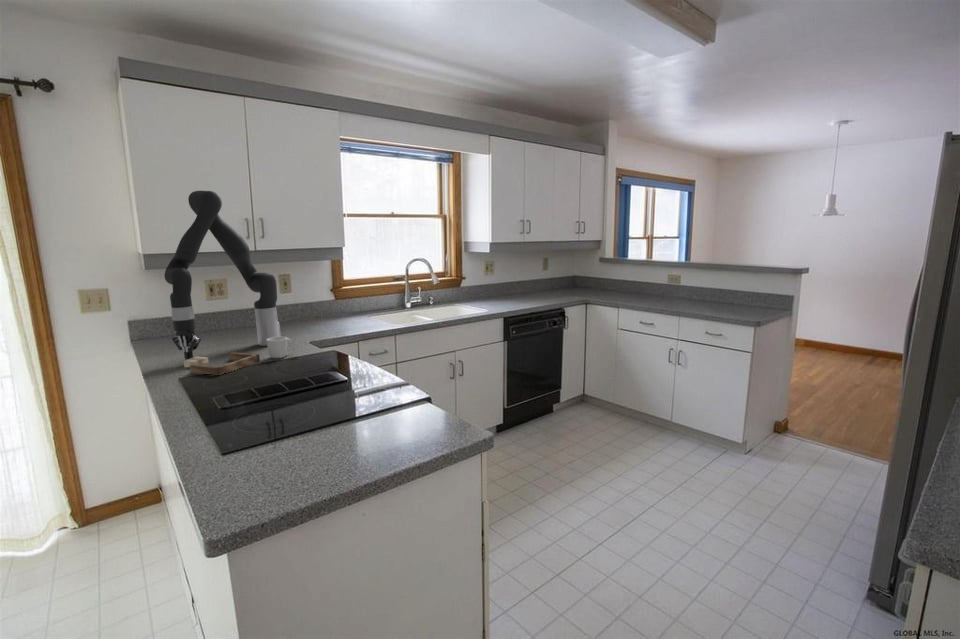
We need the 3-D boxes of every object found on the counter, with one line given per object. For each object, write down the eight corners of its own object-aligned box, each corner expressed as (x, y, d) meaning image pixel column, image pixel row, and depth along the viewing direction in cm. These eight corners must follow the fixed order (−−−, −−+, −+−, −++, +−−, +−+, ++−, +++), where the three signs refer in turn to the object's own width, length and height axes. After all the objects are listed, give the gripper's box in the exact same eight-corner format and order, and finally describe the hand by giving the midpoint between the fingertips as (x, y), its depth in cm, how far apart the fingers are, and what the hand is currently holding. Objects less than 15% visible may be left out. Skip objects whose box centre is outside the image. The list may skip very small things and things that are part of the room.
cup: (286, 352, 209) (284, 334, 208) (298, 354, 205) (296, 336, 204) (264, 358, 200) (262, 339, 199) (276, 360, 196) (274, 341, 195)
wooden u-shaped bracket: (232, 359, 200) (231, 352, 199) (260, 361, 195) (259, 354, 195) (190, 373, 181) (189, 365, 181) (219, 376, 177) (218, 368, 176)
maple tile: (197, 363, 196) (196, 356, 195) (208, 364, 194) (207, 357, 193) (184, 367, 190) (183, 360, 189) (195, 368, 188) (194, 361, 188)
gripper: (204, 316, 192) (209, 359, 195) (179, 315, 196) (185, 357, 199) (187, 320, 185) (193, 364, 188) (162, 319, 189) (168, 362, 192)
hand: (189, 360), depth 194 cm, fingers closed
